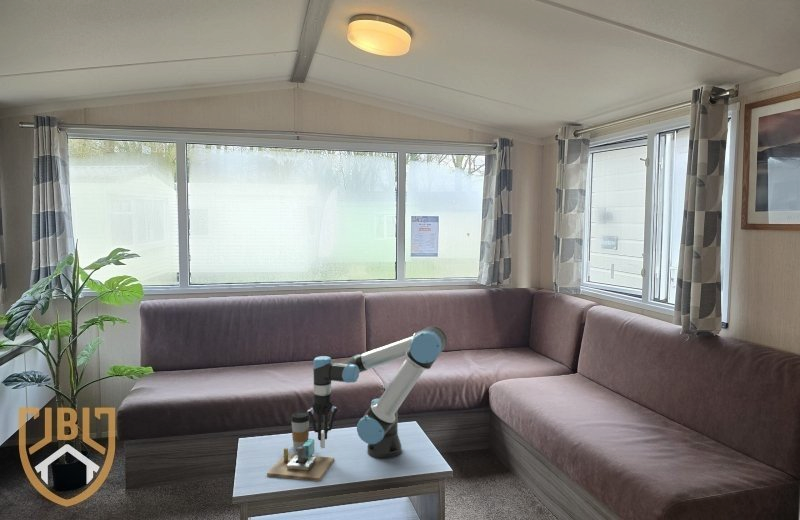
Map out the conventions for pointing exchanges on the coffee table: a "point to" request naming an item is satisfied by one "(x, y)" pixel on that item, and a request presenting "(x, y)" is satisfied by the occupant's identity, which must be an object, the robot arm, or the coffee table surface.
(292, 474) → the post base
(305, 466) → the flange
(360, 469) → the coffee table surface
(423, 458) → the coffee table surface
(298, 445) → the coffee cup
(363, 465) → the coffee table surface
